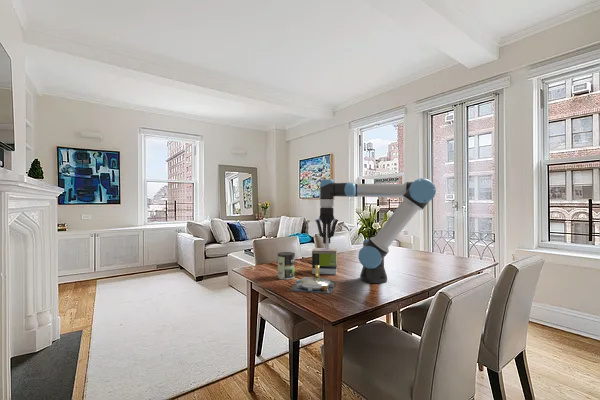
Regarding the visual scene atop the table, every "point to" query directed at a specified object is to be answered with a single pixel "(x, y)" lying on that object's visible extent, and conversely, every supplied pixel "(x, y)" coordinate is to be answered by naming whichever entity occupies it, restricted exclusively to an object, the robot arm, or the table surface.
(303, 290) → the base plate
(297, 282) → the sprocket
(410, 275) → the table surface
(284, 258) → the coffee can
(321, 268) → the tea box
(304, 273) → the table surface
